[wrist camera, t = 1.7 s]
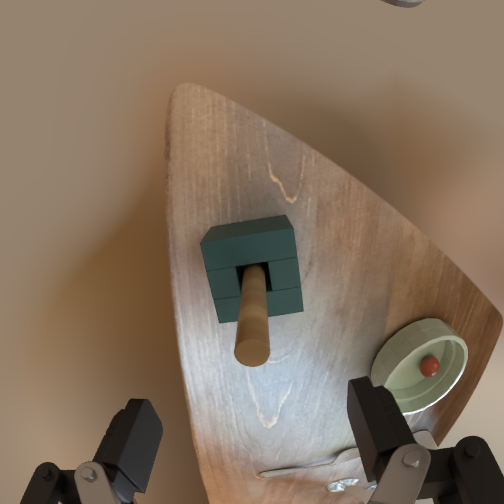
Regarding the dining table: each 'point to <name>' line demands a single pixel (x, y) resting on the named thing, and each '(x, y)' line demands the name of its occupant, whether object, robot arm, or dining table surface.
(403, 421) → the robot arm
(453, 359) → the bowl
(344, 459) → the spoon
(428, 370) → the ball
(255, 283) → the stick
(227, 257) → the holder
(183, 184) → the dining table surface
